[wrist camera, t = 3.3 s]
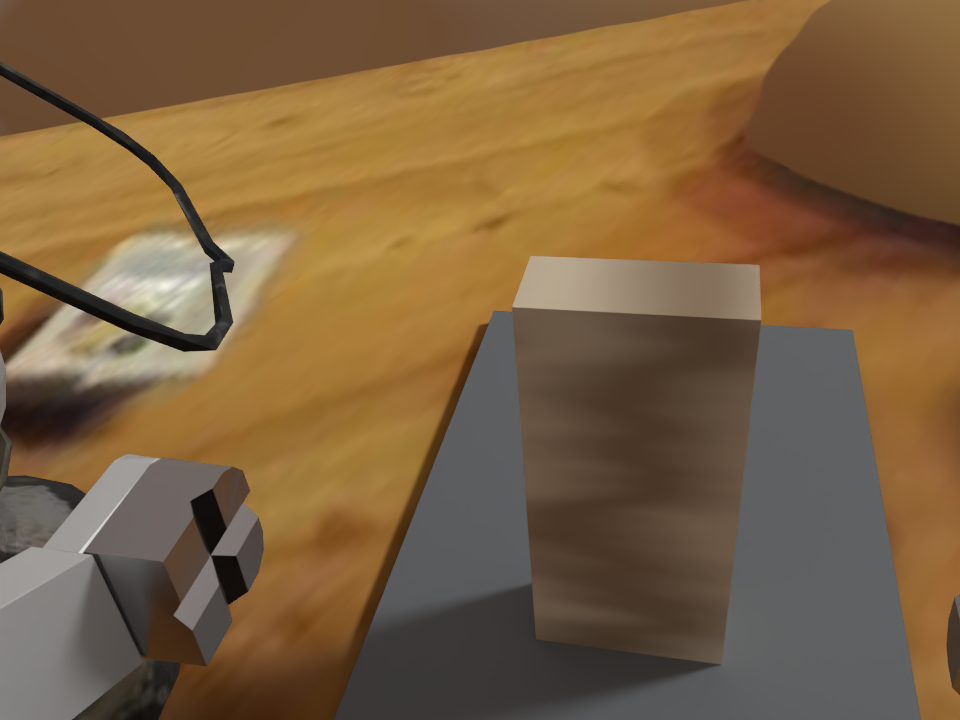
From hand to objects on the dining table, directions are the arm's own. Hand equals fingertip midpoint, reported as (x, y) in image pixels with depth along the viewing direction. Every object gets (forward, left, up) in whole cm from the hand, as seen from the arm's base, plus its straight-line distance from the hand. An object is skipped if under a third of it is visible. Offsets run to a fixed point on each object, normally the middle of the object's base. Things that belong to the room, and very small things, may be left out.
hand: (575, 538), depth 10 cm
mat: (0, +17, -16) cm, 24 cm away
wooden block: (0, +11, -16) cm, 19 cm away
